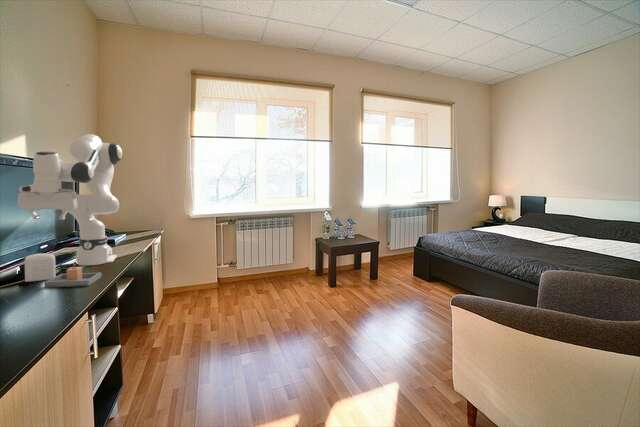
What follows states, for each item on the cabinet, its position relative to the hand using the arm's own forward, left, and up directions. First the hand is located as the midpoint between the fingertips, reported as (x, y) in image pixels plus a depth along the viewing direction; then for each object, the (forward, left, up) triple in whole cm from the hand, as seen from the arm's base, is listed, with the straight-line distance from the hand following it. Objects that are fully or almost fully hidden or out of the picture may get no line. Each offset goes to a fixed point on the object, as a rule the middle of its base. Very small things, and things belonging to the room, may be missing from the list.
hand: (49, 219), depth 126 cm
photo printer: (-4, -6, -29) cm, 30 cm away
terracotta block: (+2, +10, -28) cm, 30 cm away
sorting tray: (+2, +10, -29) cm, 31 cm away
